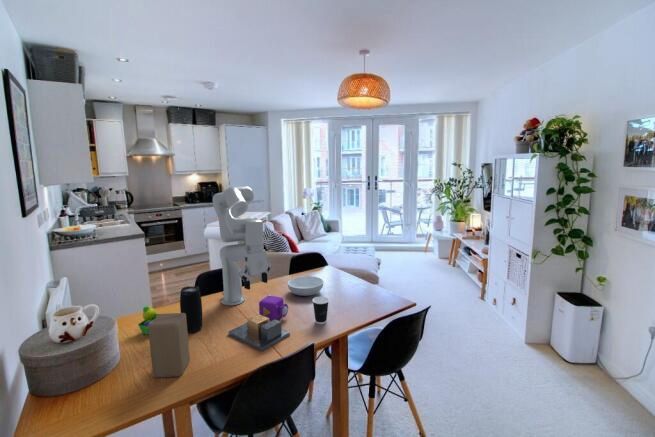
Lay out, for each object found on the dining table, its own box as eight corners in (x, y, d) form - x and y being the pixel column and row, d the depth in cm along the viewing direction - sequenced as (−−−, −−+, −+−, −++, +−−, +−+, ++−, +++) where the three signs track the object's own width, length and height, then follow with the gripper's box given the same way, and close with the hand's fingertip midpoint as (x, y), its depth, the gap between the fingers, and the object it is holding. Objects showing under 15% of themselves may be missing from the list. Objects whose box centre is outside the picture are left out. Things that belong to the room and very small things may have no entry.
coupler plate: (228, 334, 146) (227, 318, 144) (256, 321, 158) (256, 306, 157) (261, 351, 132) (261, 333, 131) (289, 335, 145) (289, 319, 144)
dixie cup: (317, 316, 162) (317, 295, 161) (332, 320, 159) (331, 298, 157) (309, 323, 155) (309, 301, 154) (324, 327, 152) (324, 304, 150)
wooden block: (163, 362, 125) (159, 312, 122) (190, 360, 126) (186, 311, 123) (152, 379, 115) (146, 325, 112) (181, 377, 116) (177, 324, 113)
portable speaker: (206, 324, 155) (203, 285, 152) (197, 334, 146) (194, 292, 143) (188, 324, 155) (185, 284, 152) (178, 334, 146) (175, 292, 143)
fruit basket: (151, 337, 144) (149, 313, 142) (135, 334, 146) (133, 310, 145) (171, 325, 154) (169, 302, 153) (155, 323, 157) (153, 300, 155)
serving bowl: (303, 284, 208) (303, 273, 206) (330, 291, 195) (330, 280, 194) (280, 294, 191) (280, 283, 190) (308, 303, 179) (308, 291, 178)
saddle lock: (248, 332, 145) (247, 319, 144) (259, 326, 150) (258, 314, 149) (258, 337, 140) (258, 323, 139) (269, 331, 145) (269, 318, 144)
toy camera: (284, 323, 155) (283, 303, 154) (257, 321, 158) (256, 301, 157) (291, 313, 166) (291, 294, 164) (266, 311, 169) (265, 293, 167)
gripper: (244, 254, 133) (245, 293, 136) (275, 245, 147) (276, 281, 150) (232, 250, 138) (234, 289, 141) (264, 242, 151) (265, 278, 154)
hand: (256, 285), depth 145 cm, fingers open, 9 cm apart
